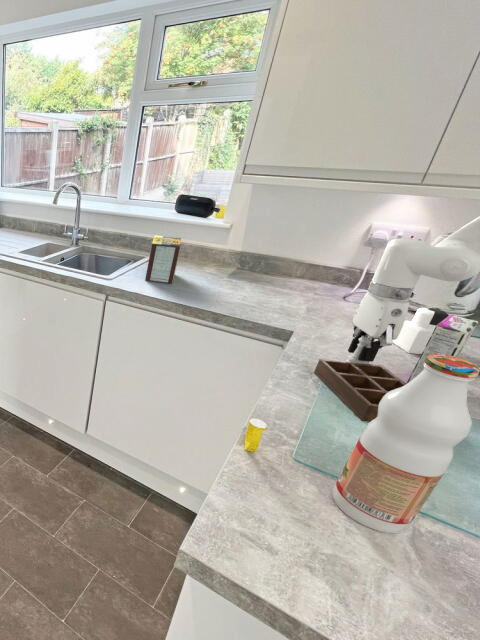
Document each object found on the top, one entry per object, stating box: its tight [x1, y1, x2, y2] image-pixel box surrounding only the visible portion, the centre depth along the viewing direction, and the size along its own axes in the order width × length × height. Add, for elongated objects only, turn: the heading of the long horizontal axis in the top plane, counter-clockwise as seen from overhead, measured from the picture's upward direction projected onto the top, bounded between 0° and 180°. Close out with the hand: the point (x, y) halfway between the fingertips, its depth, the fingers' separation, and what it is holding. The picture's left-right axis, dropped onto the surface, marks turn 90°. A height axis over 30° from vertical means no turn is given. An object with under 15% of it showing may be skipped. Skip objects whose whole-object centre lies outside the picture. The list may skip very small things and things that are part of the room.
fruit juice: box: [332, 354, 480, 534], centre depth 61 cm, size 9×9×28 cm
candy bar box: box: [406, 314, 479, 384], centre depth 98 cm, size 11×5×16 cm, turn 122°
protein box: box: [144, 234, 182, 285], centre depth 170 cm, size 10×15×16 cm
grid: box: [313, 358, 407, 423], centre depth 94 cm, size 13×20×4 cm
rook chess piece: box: [345, 336, 376, 364], centre depth 107 cm, size 4×4×8 cm
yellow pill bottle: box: [244, 418, 268, 453], centre depth 79 cm, size 6×3×6 cm, turn 150°
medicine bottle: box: [392, 306, 450, 355], centre depth 115 cm, size 7×7×12 cm
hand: (360, 355), depth 108 cm, fingers closed on rook chess piece, 3 cm apart
